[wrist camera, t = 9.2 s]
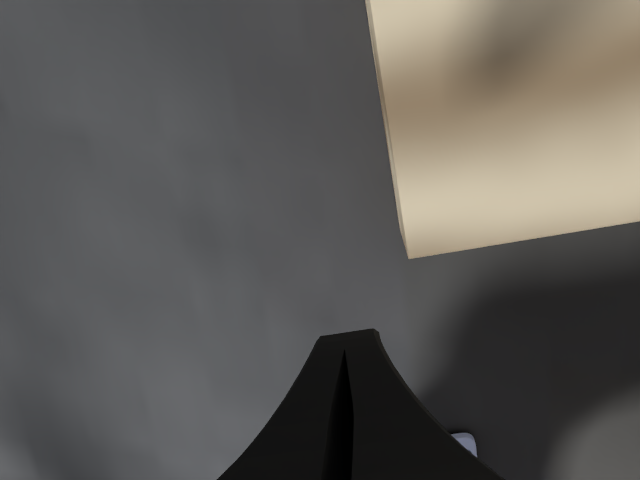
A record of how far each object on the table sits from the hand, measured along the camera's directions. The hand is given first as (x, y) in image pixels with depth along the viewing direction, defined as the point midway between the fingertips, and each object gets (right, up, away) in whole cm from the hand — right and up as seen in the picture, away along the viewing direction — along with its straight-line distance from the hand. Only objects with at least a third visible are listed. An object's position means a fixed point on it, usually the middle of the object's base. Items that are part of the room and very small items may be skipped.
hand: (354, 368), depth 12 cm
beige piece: (+7, +9, +7) cm, 14 cm away
